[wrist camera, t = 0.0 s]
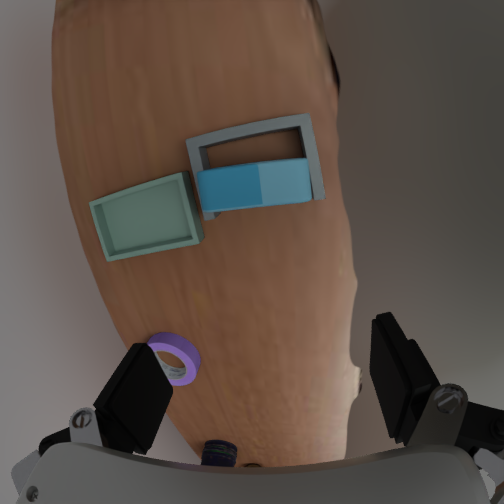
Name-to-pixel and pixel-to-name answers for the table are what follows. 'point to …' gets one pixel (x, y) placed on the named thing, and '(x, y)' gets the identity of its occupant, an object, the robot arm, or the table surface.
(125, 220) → the tray
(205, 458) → the storage jar
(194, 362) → the masking tape
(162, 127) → the table surface
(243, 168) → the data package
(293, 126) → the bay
